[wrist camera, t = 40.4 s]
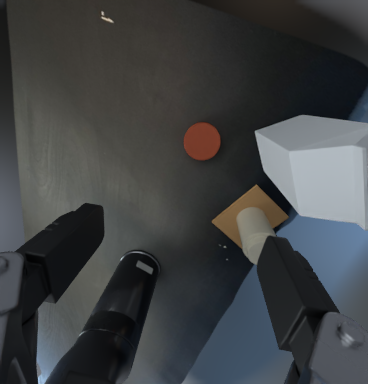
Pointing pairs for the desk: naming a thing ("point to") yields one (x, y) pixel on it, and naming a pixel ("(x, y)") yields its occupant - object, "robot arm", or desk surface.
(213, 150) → the lid
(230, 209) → the mat
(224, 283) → the desk surface
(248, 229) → the jar
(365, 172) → the milk carton
